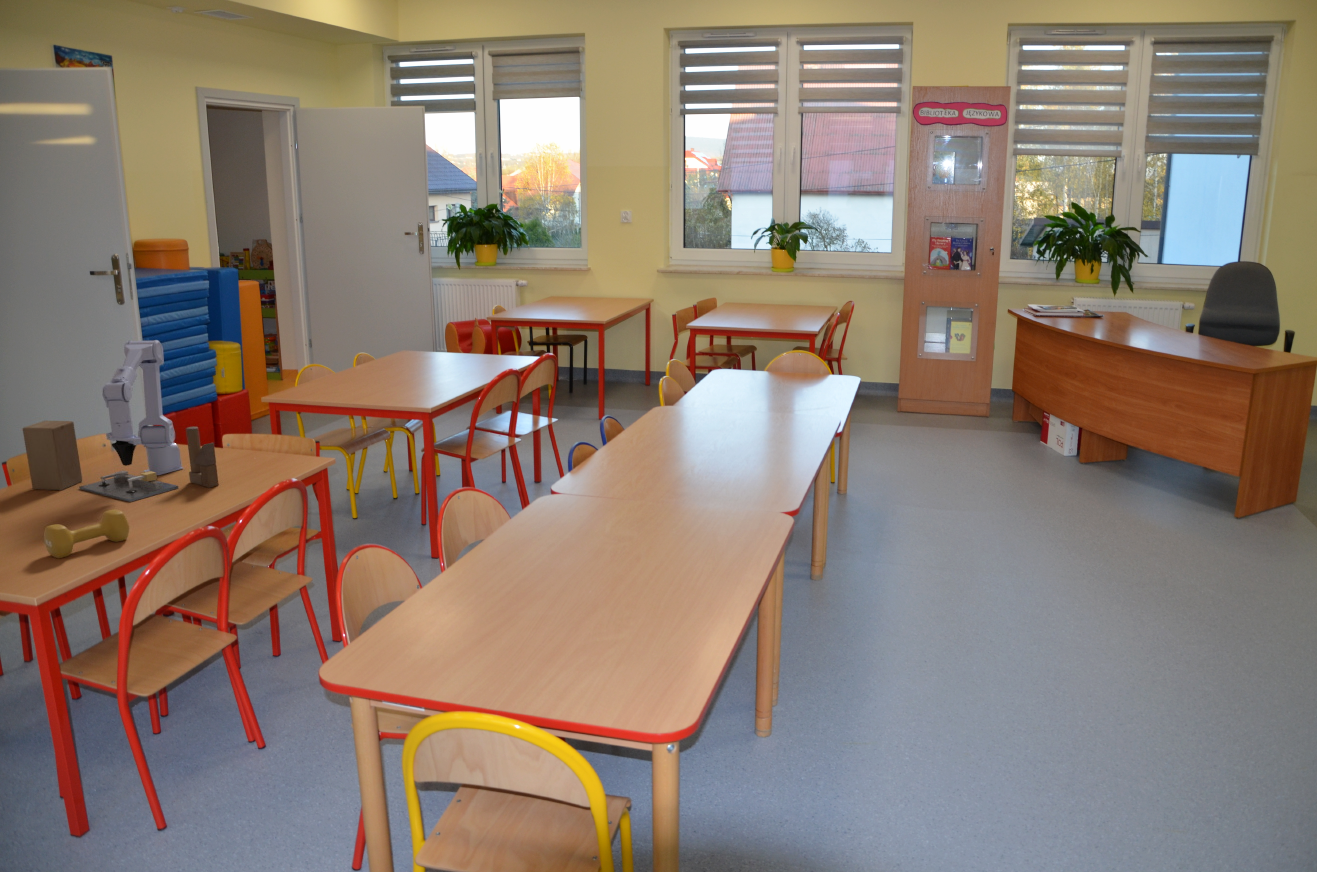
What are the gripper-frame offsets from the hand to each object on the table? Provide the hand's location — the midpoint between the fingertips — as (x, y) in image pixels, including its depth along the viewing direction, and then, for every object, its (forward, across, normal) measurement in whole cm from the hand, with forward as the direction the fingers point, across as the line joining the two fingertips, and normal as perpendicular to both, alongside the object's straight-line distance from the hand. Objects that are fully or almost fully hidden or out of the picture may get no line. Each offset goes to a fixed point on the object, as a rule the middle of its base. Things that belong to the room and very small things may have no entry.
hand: (127, 464), depth 295 cm
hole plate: (+9, -6, +3) cm, 12 cm away
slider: (+8, 0, +4) cm, 9 cm away
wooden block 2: (+10, +10, +18) cm, 23 cm away
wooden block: (+10, -29, -6) cm, 31 cm away
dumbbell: (+10, +34, -33) cm, 48 cm away
